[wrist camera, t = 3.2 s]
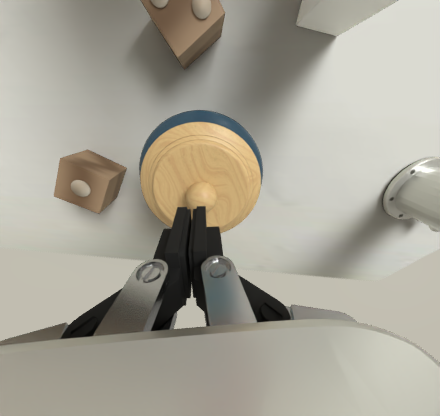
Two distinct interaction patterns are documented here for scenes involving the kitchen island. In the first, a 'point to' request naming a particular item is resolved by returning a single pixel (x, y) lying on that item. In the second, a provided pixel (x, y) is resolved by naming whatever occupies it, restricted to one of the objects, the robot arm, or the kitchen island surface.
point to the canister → (201, 168)
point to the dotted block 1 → (88, 180)
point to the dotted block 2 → (187, 25)
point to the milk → (337, 14)
